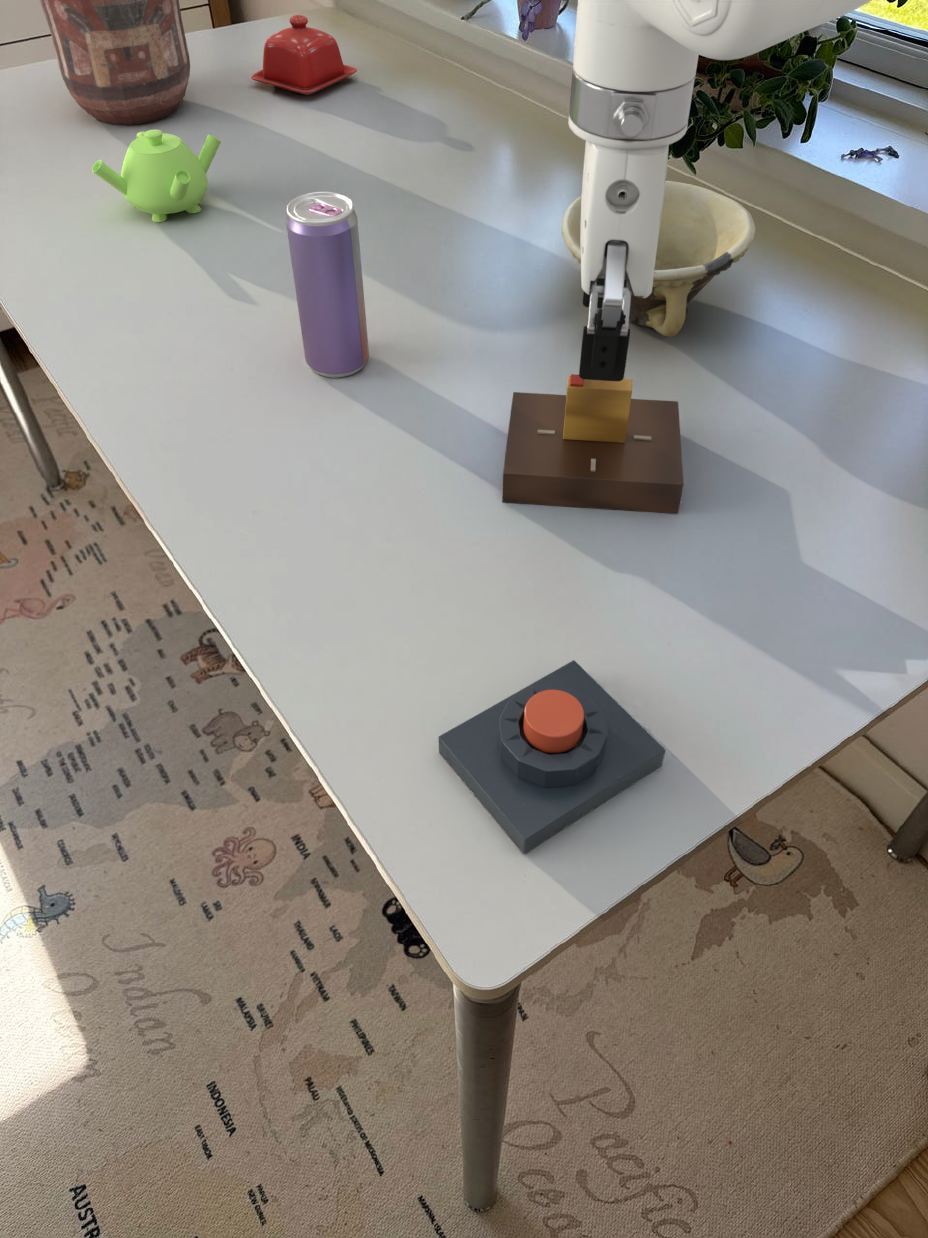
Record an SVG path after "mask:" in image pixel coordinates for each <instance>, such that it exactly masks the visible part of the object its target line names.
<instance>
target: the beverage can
mask: <svg viewBox="0 0 928 1238" xmlns="http://www.w3.org/2000/svg"><path fill="white" fill-rule="evenodd" d="M286 214H287V215H286V219H285V225H286V232H287V239H288V248H289V253H290V260H291V267H292V274H293V275H292V276H293V282H294V289H295V297H296V303H297V310H298V318H299V323H300V331H301V332H300V333H301V338H302V345H303V353H304V360H305V363H306V364H307V365H308V367H309V369H311V370H312V371H313V372H314V373H316V374H318V375H320V376H322V377H326V378H332V379H333V378H337V379H338V378H345V377H348V376H352V375H354V374H356V373H358V372H359V371H360V370H362V369H363V368H364V366H365V365H366V363H367V362H368V359H369V357H370V349H369V339H368V337H369V336H368V326H367V325H368V324H367V315H366V314H367V313H366V304H365V303H366V302H365V292H364V280H363V270H362V269H363V268H362V256H361V246H360V245H361V244H360V233H359V223H358V222H359V221H358V215H357V212H356V211H355V204H354V202H353V200H352V199H351V198H350V197H349V196H347V195H344V194H342V193H339V192H335V191H314V192H308V193H304V194H301V195H299V196H297V197H295V198H293V199H291V200H290V201H289V203H288V204H287V205H286Z"/></svg>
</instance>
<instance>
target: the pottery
mask: <svg viewBox="0 0 928 1238" xmlns="http://www.w3.org/2000/svg"><path fill="white" fill-rule="evenodd" d="M39 3H40V5H41V8H42V11H43V15H44V17H45V19H46V23H47V26H48V29H49V32H50V36H51V40H52V43H53V48H54V53H55V56H56V60H57V64H58V67H59V71H60V74H61V77H62V78H61V79H62V80H63V82H64V84H65V86H66V88H67V90H68V92H69V94H70V96H71V97H72V98H73V99H74V101H75V102H76V104H77V105H78V106H79V107H80V108H81V109H82V110H83V111H85V112H86V113H88V114H89V115H90V116H91V117H93V118H94V119H95V120H97V121H99V122H101V123H103V124H104V123H105V124H109V125H116V126H135V125H142V124H148V123H152V122H156V121H159V120H163V119H164V118H166V117H168V116H170V115H171V114H173V113H174V112H175V110H176V109H177V108H178V107H179V105H180V104H181V102H182V101H183V99H184V97H185V95H186V92H187V88H188V84H189V81H190V76H191V60H190V59H191V58H190V52H189V47H188V43H187V39H186V33H185V28H184V24H183V18H182V12H181V5H180V0H39Z"/></svg>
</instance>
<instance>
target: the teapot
mask: <svg viewBox="0 0 928 1238" xmlns="http://www.w3.org/2000/svg"><path fill="white" fill-rule="evenodd" d="M221 142H222V140H221V139H219V138H217V136H214V135H212V134H211V133H208V134H207V136H206V138H205V140H204V143H203V145H202V147H201V150H200V151H199V154H198V157H197V155H196V154H195V153H194V152H193V150H192V149H191V148H190V147H189V146H188V145H187V144H186V142H185V141H183V140H182V139H181V138H180V137H179V136H178V135H175V134H172V133H164V132H163V131H162V130H160V129H150V130H147V131H139V132H137V133H136V138H135V139H133V140H132V141H131V142H130V144H129V145H128V148H127V150H126V152H125V155H124V159H123V162H122V166H121V171H120V174H119V173H118V172H116V171H115V170H114V169H113V168H112V167H110V166H109V165H108V164H106V163H105V162H103V161H102V159H98V160H96V161H95V162H94V164H93V166H92V168H91V172H92V173H93V174H95V175H96V176H97V177H99V178H100V179H101V180H103V181H104V182H106V183H107V184H108V185H110V186H111V187H113V188H114V189H116V190H117V191H118V192H120V193H121V194H122V195H123V197H124V198H125V200H126V201H127V202H128V203H130V205H132V206H133V207H134V208H136V209H137V210H139V211H141V212H143V213H147V214H152V216H151V221H152V222H154V223H162V222H165V221H167V220H168V214H175V213H180V212H183V211H186V213H188V214H196V213H199V212H201V210H202V207H200V206H199V205H198V204H199V203H200V202H201V200H202V199H203V198H204V196H205V194H206V193H207V190H208V186H209V181H208V176H207V173H208V170H209V168H210V167H211V164H212V163H213V160H214V157H215V156H216V154H217V152H218V149H219V147H220V145H221Z"/></svg>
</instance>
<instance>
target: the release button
mask: <svg viewBox="0 0 928 1238" xmlns="http://www.w3.org/2000/svg"><path fill="white" fill-rule="evenodd" d="M583 722H584V710H583V707H582V705H581V704H580V702H579V701H578V700H577V699H576V698H575V697H574V696H572V695H571V694H569V693H567V692H564V691H560V690H545V691H542V692H539V693H537V694H535V695H534V696H533V697H531V698H530V699H529V701H528V702H527V704H526V706H525V711H524V726H523V730H524V734H525V737H526V739H527V740H528V742H529V743H530V744H531V745H532V746H534V747H535V748H537V749H538V750H540V751H543V752H547V753H562V752H565V751H568V750H570V749H571V748H573V747H574V746H575V745H576V744H577V743H578V742H579V740H580V738H581V735H582V729H583Z"/></svg>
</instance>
